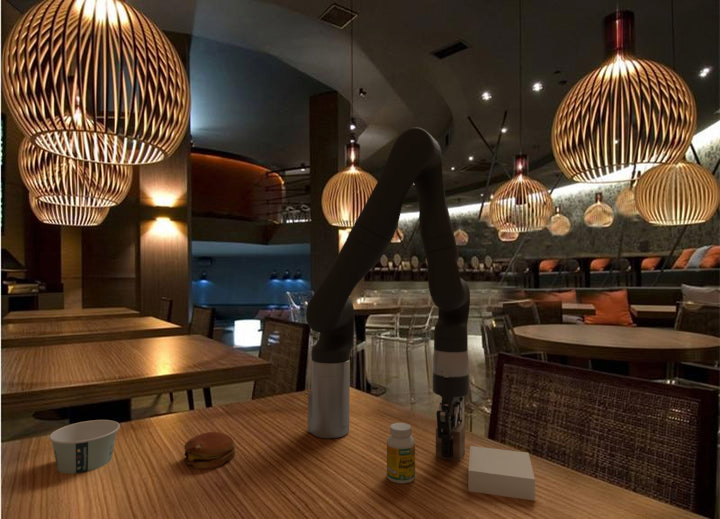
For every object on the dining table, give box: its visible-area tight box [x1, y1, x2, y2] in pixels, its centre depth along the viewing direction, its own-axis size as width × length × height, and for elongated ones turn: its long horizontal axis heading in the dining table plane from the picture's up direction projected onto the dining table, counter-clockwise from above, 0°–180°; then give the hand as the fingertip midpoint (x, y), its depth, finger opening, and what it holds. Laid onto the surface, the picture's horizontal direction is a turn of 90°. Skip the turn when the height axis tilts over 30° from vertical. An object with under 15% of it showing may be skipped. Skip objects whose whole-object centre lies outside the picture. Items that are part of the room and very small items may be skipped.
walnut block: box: [435, 422, 466, 463], centre depth 92 cm, size 5×5×6 cm
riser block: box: [467, 445, 536, 501], centre depth 81 cm, size 11×11×4 cm
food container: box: [48, 419, 121, 475], centre depth 87 cm, size 12×12×6 cm
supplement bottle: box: [386, 422, 416, 485], centre depth 82 cm, size 5×5×10 cm
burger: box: [183, 431, 236, 470], centre depth 89 cm, size 10×9×5 cm
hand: (450, 451), depth 92 cm, fingers closed on walnut block, 5 cm apart
